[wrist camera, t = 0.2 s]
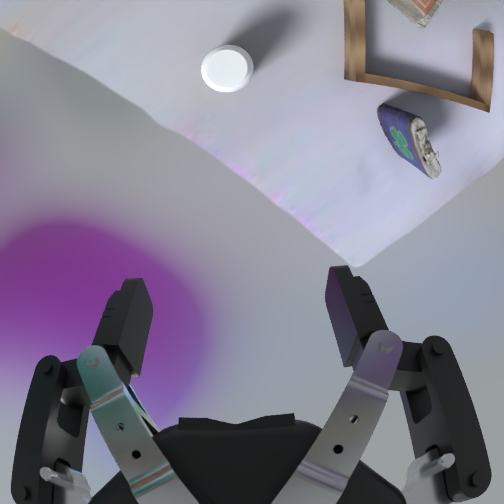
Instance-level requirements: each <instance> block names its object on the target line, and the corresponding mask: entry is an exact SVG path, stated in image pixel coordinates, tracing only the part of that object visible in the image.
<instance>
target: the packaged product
mask: <svg viewBox="0 0 504 504" xmlns="http://www.w3.org/2000/svg"><path fill="white" fill-rule="evenodd" d="M387 1H388V2H389V3H391V4H392V5H393V6H394V7H396V8H397V9H398V10H399V11H400V12H401V13H403V14H404V15H405V16H406V17H407V18H408V19H409V20H410V21H411V22H412V23H414V24H415V25H416V26H417V27H418V28H422V27H425V26H426V24H427V23H428V21H429V20H430V18H431V17H432V15H433V14H434V12H435V11H436V9H437V8H438V7H439V5H440V3H441V2H442V1H443V0H387Z"/></svg>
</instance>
